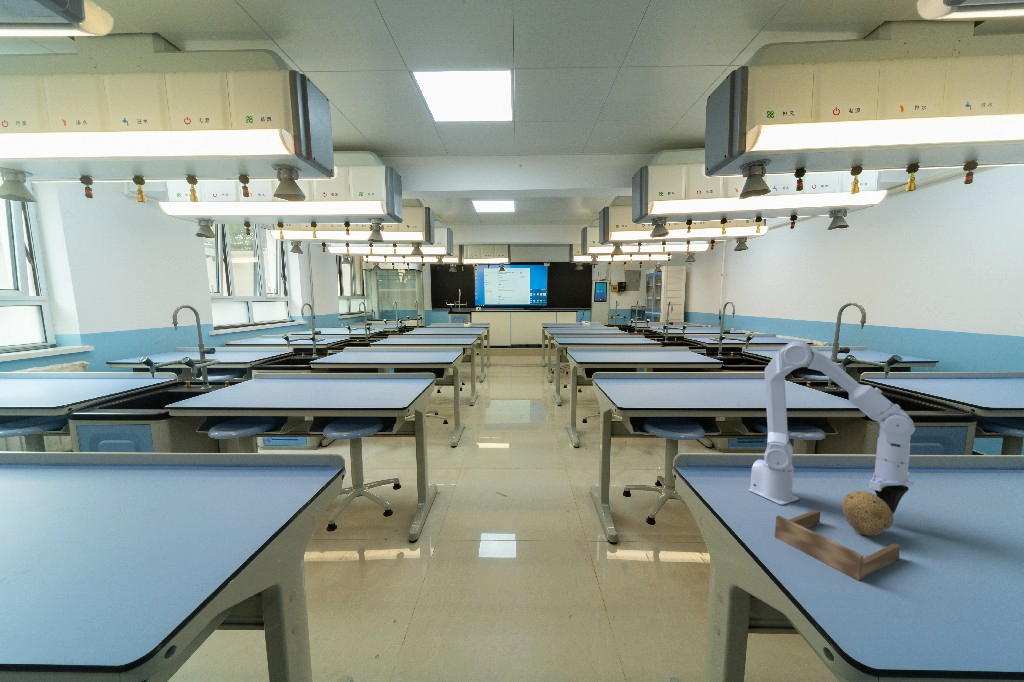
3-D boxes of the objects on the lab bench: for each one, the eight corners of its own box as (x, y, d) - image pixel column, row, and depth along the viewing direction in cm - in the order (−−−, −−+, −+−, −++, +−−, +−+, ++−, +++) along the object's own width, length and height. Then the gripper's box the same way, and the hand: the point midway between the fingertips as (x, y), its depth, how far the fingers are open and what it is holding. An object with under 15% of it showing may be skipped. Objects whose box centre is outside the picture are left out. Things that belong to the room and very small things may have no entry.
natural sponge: (861, 521, 98) (865, 483, 97) (902, 542, 89) (906, 500, 88) (830, 524, 96) (833, 485, 95) (868, 546, 87) (873, 504, 87)
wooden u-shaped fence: (774, 536, 91) (776, 516, 91) (815, 521, 98) (816, 502, 97) (858, 580, 77) (860, 556, 76) (898, 558, 83) (901, 536, 83)
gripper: (898, 470, 88) (893, 527, 90) (928, 459, 94) (923, 513, 96) (860, 459, 95) (856, 512, 96) (890, 450, 101) (886, 500, 102)
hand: (887, 512), depth 96 cm, fingers closed
